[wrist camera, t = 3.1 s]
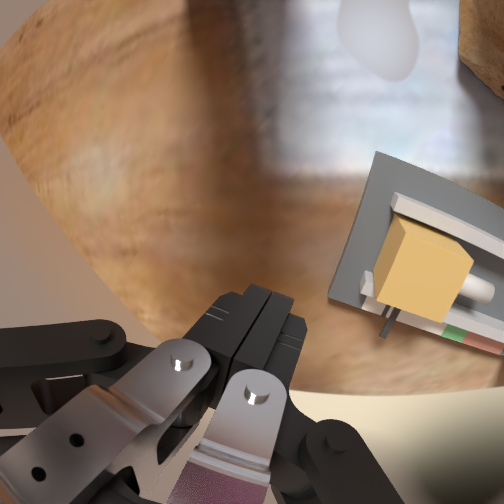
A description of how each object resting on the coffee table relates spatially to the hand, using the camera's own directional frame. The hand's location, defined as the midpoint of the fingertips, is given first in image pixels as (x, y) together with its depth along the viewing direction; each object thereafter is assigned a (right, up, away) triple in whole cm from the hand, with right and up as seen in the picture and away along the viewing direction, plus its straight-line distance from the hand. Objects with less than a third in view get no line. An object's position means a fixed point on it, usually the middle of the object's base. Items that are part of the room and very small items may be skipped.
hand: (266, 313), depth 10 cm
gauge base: (+18, 0, +10) cm, 21 cm away
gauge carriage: (+13, 0, +10) cm, 16 cm away
